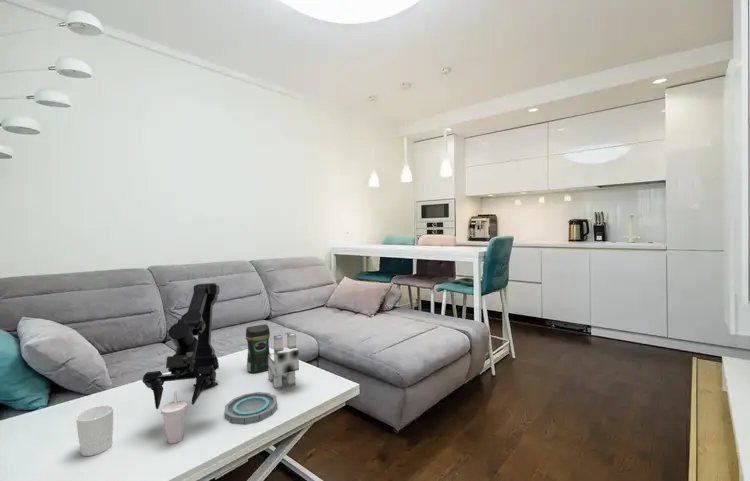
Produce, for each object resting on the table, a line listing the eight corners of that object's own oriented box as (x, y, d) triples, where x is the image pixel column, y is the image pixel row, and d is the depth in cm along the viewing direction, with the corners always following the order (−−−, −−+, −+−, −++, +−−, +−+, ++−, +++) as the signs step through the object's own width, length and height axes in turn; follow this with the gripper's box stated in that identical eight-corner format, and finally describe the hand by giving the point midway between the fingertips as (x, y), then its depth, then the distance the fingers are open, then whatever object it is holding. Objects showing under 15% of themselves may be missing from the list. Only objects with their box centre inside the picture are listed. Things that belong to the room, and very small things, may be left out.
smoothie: (176, 447, 95) (174, 397, 94) (156, 445, 96) (154, 395, 96) (193, 433, 101) (191, 386, 101) (174, 431, 103) (172, 385, 102)
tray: (215, 412, 113) (215, 406, 113) (259, 393, 125) (259, 387, 125) (241, 430, 103) (241, 423, 103) (286, 407, 115) (286, 401, 115)
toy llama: (285, 372, 142) (284, 324, 141) (299, 390, 127) (298, 336, 126) (267, 377, 139) (265, 327, 138) (279, 395, 124) (277, 340, 123)
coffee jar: (268, 363, 152) (266, 321, 152) (273, 369, 146) (271, 326, 145) (245, 368, 147) (243, 325, 146) (249, 375, 141) (247, 330, 140)
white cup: (92, 440, 99) (90, 406, 99) (121, 438, 100) (119, 404, 99) (70, 459, 91) (68, 421, 91) (102, 456, 92) (100, 419, 91)
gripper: (143, 345, 102) (127, 400, 91) (212, 339, 106) (204, 392, 95) (155, 361, 110) (141, 414, 99) (218, 356, 114) (212, 405, 103)
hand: (174, 406), depth 99 cm, fingers open, 9 cm apart
